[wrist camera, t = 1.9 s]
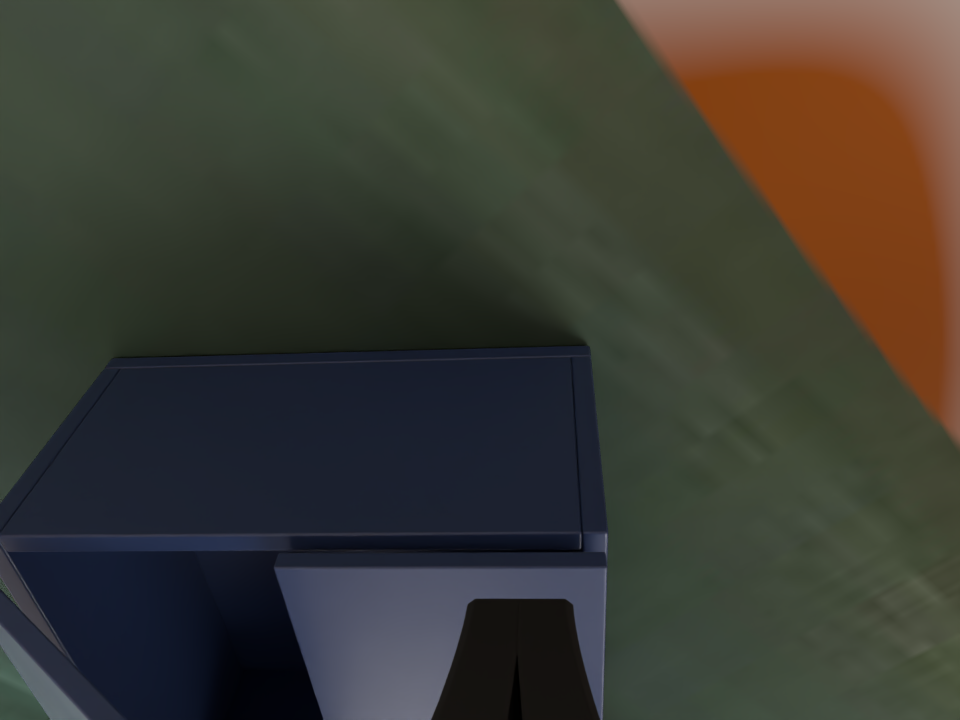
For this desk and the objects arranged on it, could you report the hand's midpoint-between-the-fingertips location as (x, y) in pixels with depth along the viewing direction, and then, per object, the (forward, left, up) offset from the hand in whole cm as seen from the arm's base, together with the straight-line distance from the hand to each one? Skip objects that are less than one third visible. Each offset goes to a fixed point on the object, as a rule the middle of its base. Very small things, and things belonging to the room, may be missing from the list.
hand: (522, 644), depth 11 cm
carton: (-9, +5, -10) cm, 15 cm away
